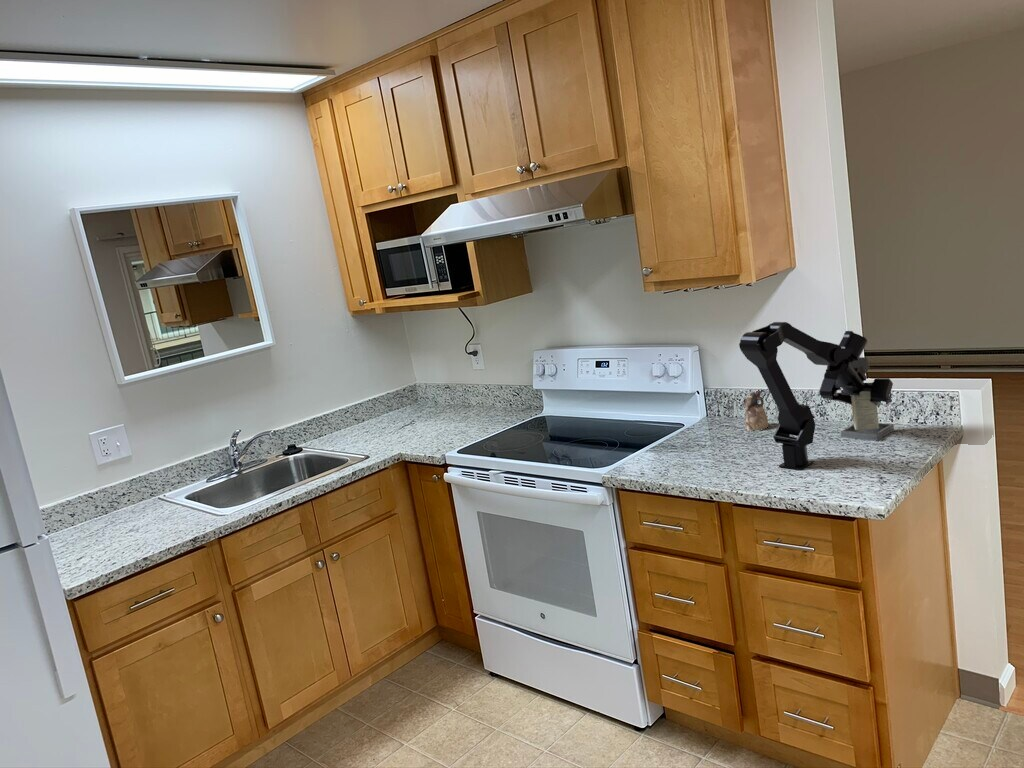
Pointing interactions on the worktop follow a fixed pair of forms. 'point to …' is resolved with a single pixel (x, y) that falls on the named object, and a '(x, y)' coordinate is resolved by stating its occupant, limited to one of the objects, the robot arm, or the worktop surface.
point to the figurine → (755, 412)
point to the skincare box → (864, 412)
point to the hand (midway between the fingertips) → (866, 404)
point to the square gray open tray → (868, 432)
